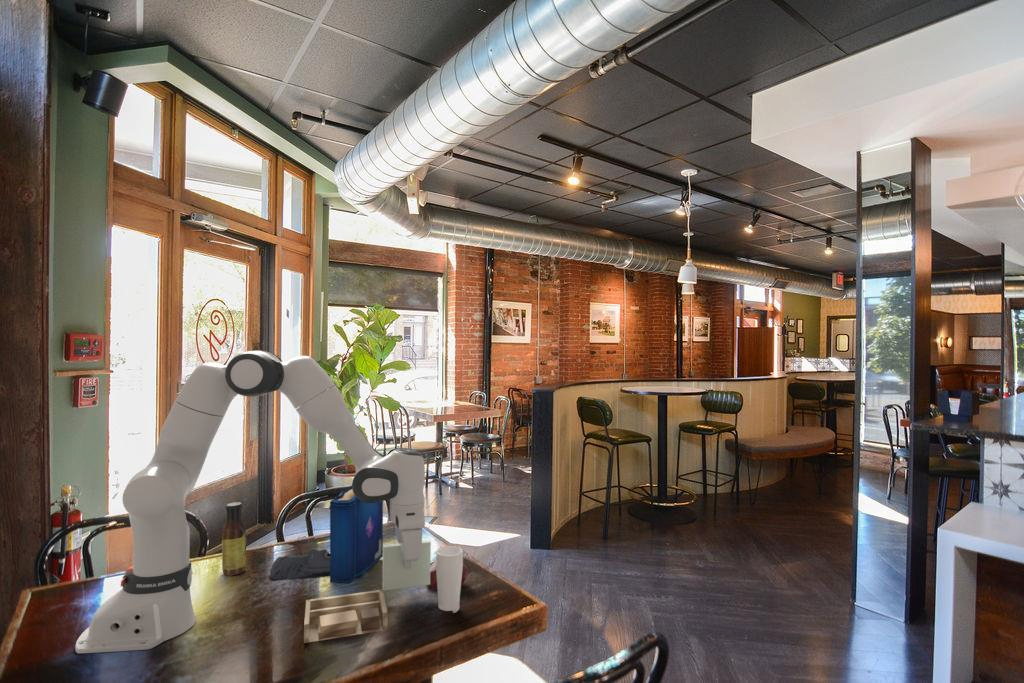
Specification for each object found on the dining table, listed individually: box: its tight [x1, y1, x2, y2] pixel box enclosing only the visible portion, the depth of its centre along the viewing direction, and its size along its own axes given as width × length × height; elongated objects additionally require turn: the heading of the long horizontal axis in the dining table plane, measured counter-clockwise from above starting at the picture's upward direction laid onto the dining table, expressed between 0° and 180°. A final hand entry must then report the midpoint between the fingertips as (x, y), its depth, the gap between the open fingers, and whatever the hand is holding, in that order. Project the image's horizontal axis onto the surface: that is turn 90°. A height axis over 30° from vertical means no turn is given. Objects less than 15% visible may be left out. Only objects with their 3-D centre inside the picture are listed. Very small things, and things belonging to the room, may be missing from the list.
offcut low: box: [318, 623, 356, 639], centre depth 121 cm, size 8×5×2 cm, turn 109°
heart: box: [426, 559, 469, 590], centre depth 148 cm, size 12×8×10 cm
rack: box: [303, 589, 389, 644], centre depth 125 cm, size 18×12×5 cm, turn 109°
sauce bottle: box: [221, 501, 247, 577], centre depth 155 cm, size 7×6×20 cm
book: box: [329, 485, 384, 584], centre depth 156 cm, size 22×7×25 cm, turn 169°
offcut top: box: [319, 610, 358, 633], centre depth 121 cm, size 8×5×2 cm, turn 113°
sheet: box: [381, 539, 432, 592], centre depth 137 cm, size 12×2×11 cm, turn 109°
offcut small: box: [361, 608, 380, 631], centre depth 124 cm, size 4×4×3 cm
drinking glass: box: [435, 545, 464, 614], centre depth 134 cm, size 7×7×15 cm
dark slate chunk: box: [269, 549, 330, 582], centre depth 159 cm, size 15×22×5 cm
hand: (406, 565), depth 137 cm, fingers closed on sheet, 2 cm apart
